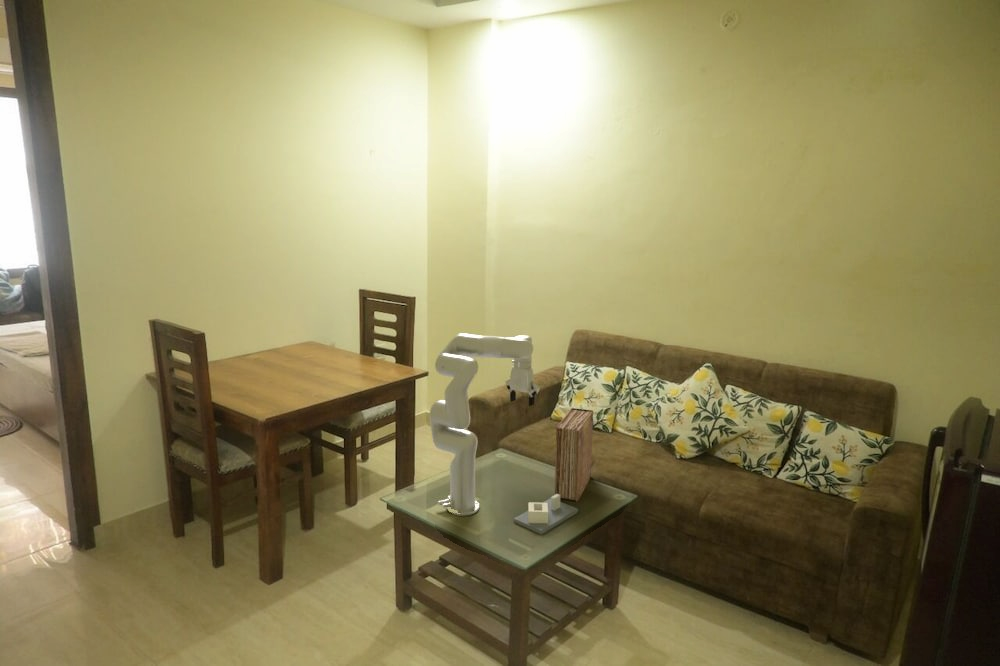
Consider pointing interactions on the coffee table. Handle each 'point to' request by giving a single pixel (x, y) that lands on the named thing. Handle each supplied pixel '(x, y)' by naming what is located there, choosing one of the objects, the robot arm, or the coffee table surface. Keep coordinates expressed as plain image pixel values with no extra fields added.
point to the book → (573, 453)
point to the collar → (537, 512)
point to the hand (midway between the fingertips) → (522, 402)
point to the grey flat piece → (555, 515)
